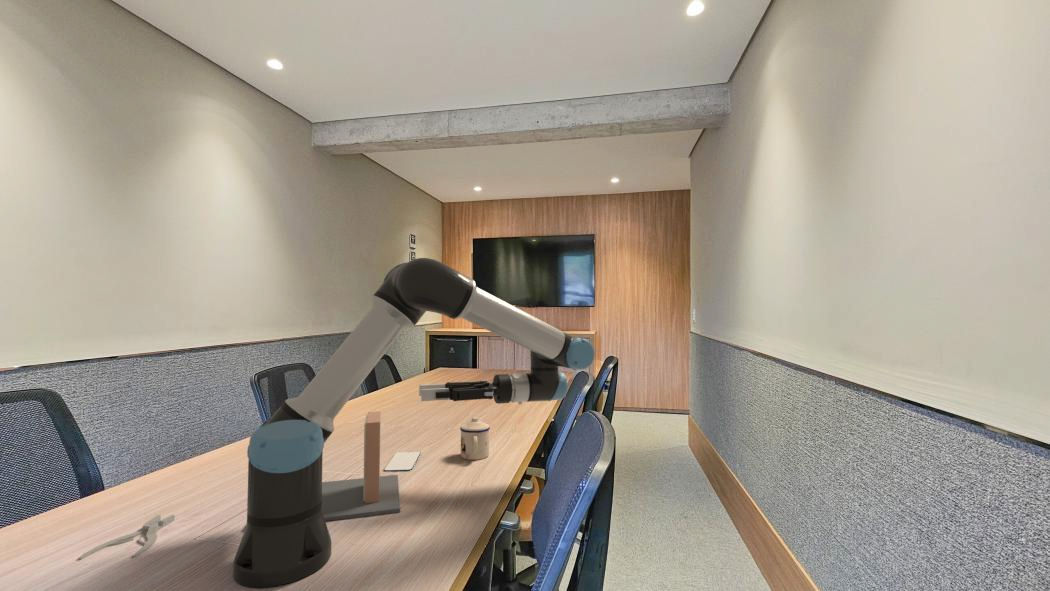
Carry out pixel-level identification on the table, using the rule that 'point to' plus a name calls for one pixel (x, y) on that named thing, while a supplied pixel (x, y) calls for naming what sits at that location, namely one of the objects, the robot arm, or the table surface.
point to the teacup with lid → (474, 440)
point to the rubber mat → (358, 498)
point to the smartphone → (402, 461)
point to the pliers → (148, 528)
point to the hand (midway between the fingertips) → (420, 392)
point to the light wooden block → (372, 457)
